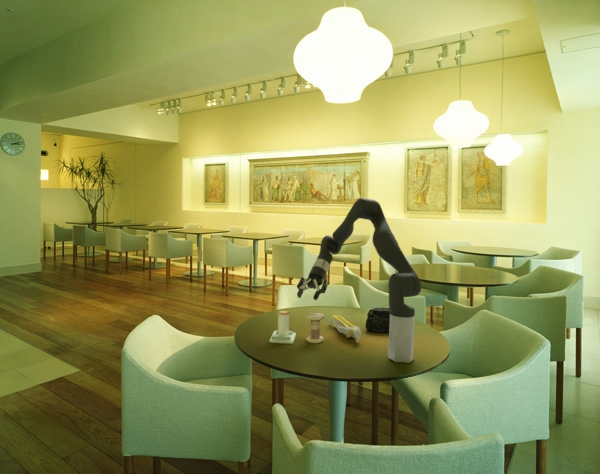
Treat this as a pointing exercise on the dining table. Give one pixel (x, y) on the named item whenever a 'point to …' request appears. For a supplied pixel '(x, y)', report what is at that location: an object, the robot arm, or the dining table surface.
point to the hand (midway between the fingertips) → (306, 298)
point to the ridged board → (283, 338)
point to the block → (283, 323)
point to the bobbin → (315, 328)
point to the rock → (378, 320)
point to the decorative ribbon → (346, 328)
